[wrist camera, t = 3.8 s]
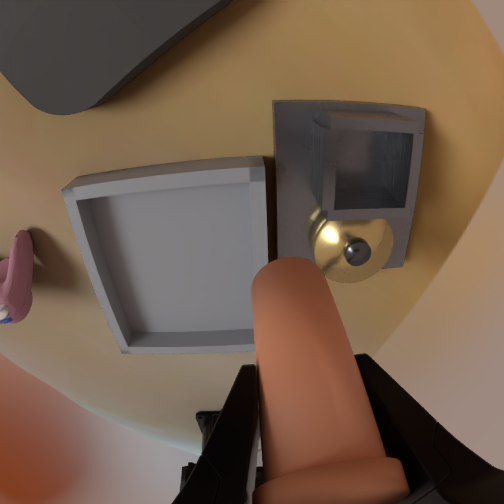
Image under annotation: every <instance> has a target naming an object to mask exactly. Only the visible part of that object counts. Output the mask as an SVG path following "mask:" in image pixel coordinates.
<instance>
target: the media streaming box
mask: <svg viewBox="0 0 504 504" xmlns="http://www.w3.org/2000/svg"><path fill="white" fill-rule="evenodd" d="M231 1H232V0H0V71H1V73H2V74H3V75H4V76H5V77H6V79H7V80H8V81H9V82H10V83H11V84H12V85H13V86H14V88H15V89H16V90H17V91H18V92H19V93H20V94H21V95H22V96H23V97H24V98H25V99H26V100H27V101H29V102H30V103H31V104H32V105H33V106H34V107H36V108H37V109H39V110H41V111H43V112H46V113H50V114H54V115H70V114H75V113H78V112H82V111H84V110H87V109H90V108H93V107H96V106H99V105H101V104H103V103H105V102H106V101H108V100H109V99H110V98H112V97H113V96H114V95H115V94H116V93H117V92H119V91H120V90H121V89H122V88H123V87H124V86H126V85H127V84H128V83H129V82H130V81H131V80H133V79H134V78H135V77H136V76H137V75H139V74H140V73H141V72H142V71H143V70H145V69H146V68H147V67H148V66H149V65H151V64H152V63H153V62H154V61H156V60H157V59H158V58H159V57H160V56H162V55H163V54H164V53H165V52H167V51H168V50H169V49H170V48H172V47H173V46H174V45H175V44H177V43H178V42H179V41H181V40H182V39H183V38H184V37H186V36H187V35H188V34H189V33H191V32H192V31H193V30H195V29H196V28H197V27H199V26H200V25H201V24H202V23H204V22H205V21H206V20H208V19H209V18H210V17H212V16H213V15H214V14H216V13H217V12H219V11H220V10H221V9H223V8H224V7H225V6H227V5H228V4H229V3H230V2H231Z"/></svg>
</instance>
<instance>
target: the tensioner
mask: <svg viewBox="0 0 504 504" xmlns="http://www.w3.org/2000/svg"><path fill="white" fill-rule="evenodd" d="M272 108H273V135H274V167H275V206H276V260H277V259H280V258H284V257H301V258H305V259H308V260H310V261H312V262H314V263H315V264H316V265H318V266H319V267H320V269H321V270H322V271H323V274H324V275H325V276H326V277H327V278H329V279H331V280H333V281H336V282H340V283H354V282H359V281H362V280H365V279H367V278H369V277H371V276H372V275H374V274H375V273H376V272H378V271H379V270H380V269H385V268H396V267H403V263H404V259H405V254H406V250H407V245H408V240H409V235H410V230H411V225H412V220H413V214H414V208H415V202H416V196H417V190H418V183H419V175H420V168H421V159H422V150H423V140H424V129H425V115H426V110H425V109H422V108H419V107H413V106H404V105H395V104H384V103H372V102H357V101H335V100H272Z"/></svg>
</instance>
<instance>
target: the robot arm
mask: <svg viewBox="0 0 504 504" xmlns="http://www.w3.org/2000/svg"><path fill="white" fill-rule="evenodd" d="M354 357H355V360H356V363H357V366H358V368H359V371H360V374H361V377H362V380H363V383H364V386H365V389H366V392H367V395H368V398H369V401H370V405H371V408H372V411H373V414H374V417H375V420H376V424H377V427H378V430H379V433H380V437H381V440H382V443H383V447H384V450H385V453H386V457H390V458H395V459H398V460H400V461H401V463H402V466H403V469H404V472H405V476H406V479H407V483H408V486H409V490H410V493H409V495H408V496H407V497H406V498H404V499H403V500H401V501H400V502H398V503H396V504H504V471H503V470H500V469H498V468H496V467H494V466H492V465H491V464H489V463H488V462H486V461H485V460H484V459H482V458H481V457H480V456H478V455H477V454H475V453H474V452H473V451H471V450H470V449H469V448H468V447H466V446H465V445H464V444H462V443H461V442H460V441H459V440H457V439H456V438H455V437H454V436H453V435H451V434H450V433H449V432H448V431H447V430H446V429H445V428H444V427H443V426H442V425H441V424H440V423H439V422H437V421H436V419H434V418H433V417H432V416H431V415H430V414H429V413H428V412H427V411H426V410H425V409H424V408H423V407H422V406H421V405H420V404H419V403H418V402H417V401H416V400H415V399H414V398H413V397H412V396H410V395H409V394H408V393H407V392H406V391H405V390H404V389H403V388H402V387H401V386H400V385H399V384H398V383H397V382H396V381H395V380H394V379H393V378H392V377H390V375H389V374H388V373H387V372H386V371H384V370H383V369H382V368H381V367H380V366H379V365H378V364H377V363H376V362H375V361H374V360H373V359H372V358H371V357H370V356H369V355H368V354H365V353H363V354H356V355H354ZM196 420H197V422H198V425H199V427H200V429H201V432H202V434H203V439H202V453H201V454H202V455H201V456H200V457H199V459H198V461H197V463H196V464H194V463H192V462H189V463H188V466H185V467H182V477H181V485H180V493H179V494H178V496H177V497H176V498H175V500H174V501H173V502H172V504H252V492H253V491H254V490H255V489H256V488H257V487H259V486H260V485H262V484H264V476H263V467H256V465H257V453H258V441H259V409H258V389H257V375H256V366H255V365H254V364H248V365H242V366H241V368H240V370H239V373H238V375H237V377H236V379H235V382H234V384H233V386H232V388H231V391H230V393H229V395H228V397H227V399H226V402H225V404H224V406H223V408H222V410H221V412H199V413H196Z"/></svg>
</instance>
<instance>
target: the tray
mask: <svg viewBox="0 0 504 504" xmlns="http://www.w3.org/2000/svg"><path fill="white" fill-rule="evenodd" d="M62 193H63V197H64V201H65V204H66V208H67V211H68V215H69V218H70V221H71V225H72V228H73V231H74V234H75V237H76V241H77V244H78V247H79V250H80V252H81V255H82V258H83V261H84V264H85V267H86V269H87V272H88V275H89V278H90V280H91V283H92V285H93V288H94V291H95V293H96V296H97V298H98V301H99V303H100V306H101V308H102V310H103V313H104V315H105V317H106V320H107V322H108V324H109V327H110V329H111V331H112V333H113V335H114V338H115V340H116V342H117V344H118V346H119V348H120V350H121V353H128V354H201V353H229V352H248V351H255V343H254V328H253V313H252V297H251V286H252V282H253V279H254V277H255V276H256V274H257V273H258V272H259V271H260V270H261V268H263V267H264V266H265V265H267V264H268V242H267V212H266V184H265V165H264V162H263V158H262V156H246V157H231V158H218V159H206V160H196V161H186V162H176V163H167V164H159V165H151V166H143V167H136V168H129V169H122V170H115V171H109V172H103V173H97V174H91V175H85V176H79V177H76V178H75V179H74V180H73V181H71V182H70V183H69V184H68V185H67V186H65V187H64V188H63V189H62Z"/></svg>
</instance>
